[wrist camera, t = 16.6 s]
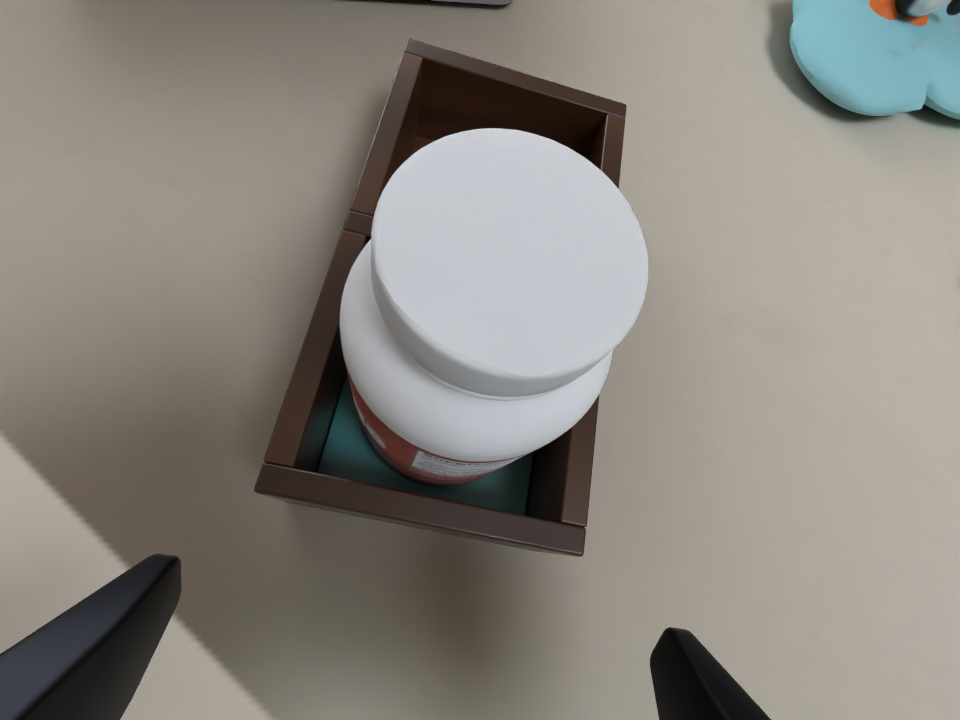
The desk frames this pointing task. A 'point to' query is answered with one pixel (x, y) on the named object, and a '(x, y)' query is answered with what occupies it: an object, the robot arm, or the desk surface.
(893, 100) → the penguin figurine
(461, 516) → the wooden compartment tray
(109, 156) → the desk surface
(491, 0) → the electronic device
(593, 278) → the pill bottle
